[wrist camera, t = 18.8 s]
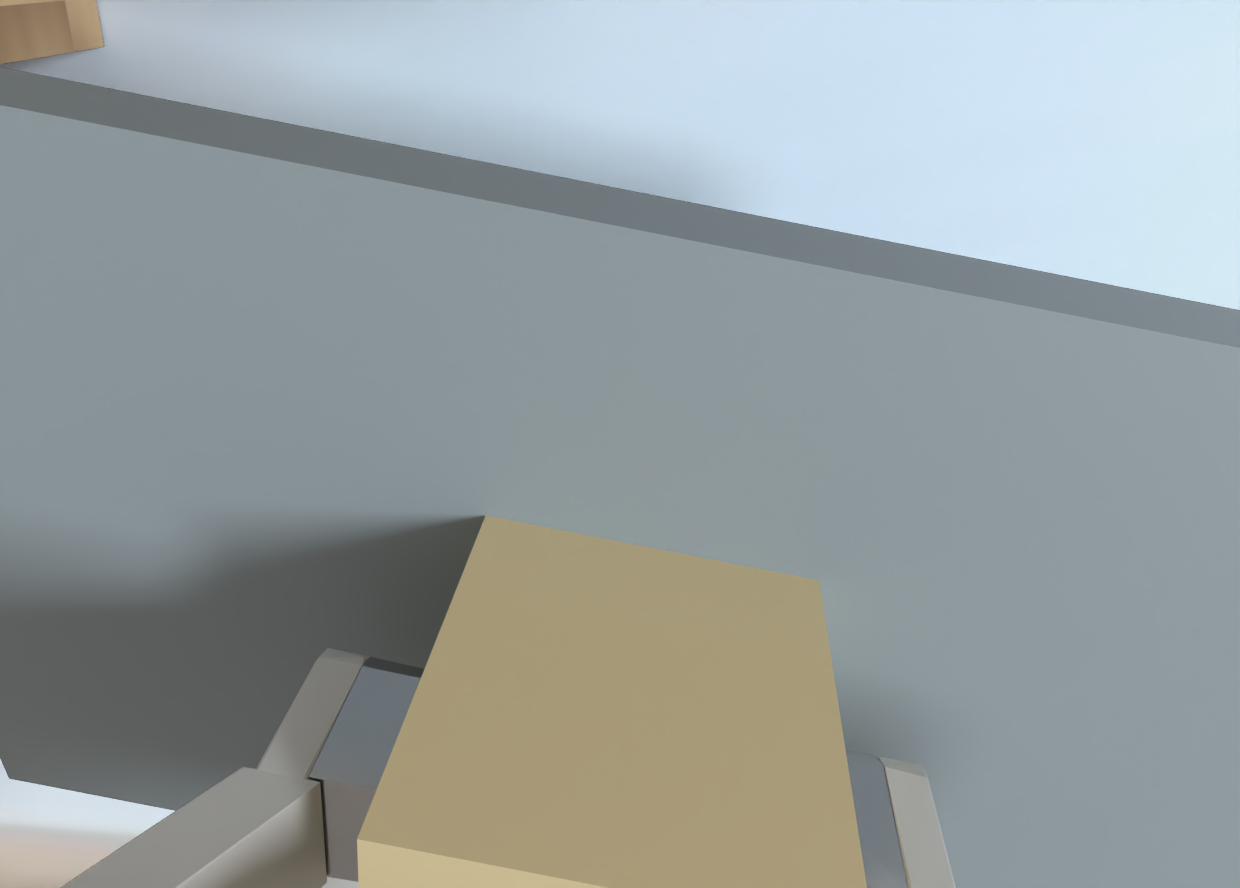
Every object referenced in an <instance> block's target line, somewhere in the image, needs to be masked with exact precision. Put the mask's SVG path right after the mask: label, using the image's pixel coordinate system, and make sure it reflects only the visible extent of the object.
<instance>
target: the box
mask: <svg viewBox="0 0 1240 888" xmlns="http://www.w3.org/2000/svg"><path fill="white" fill-rule="evenodd" d="M99 47H104V41H103V36H102V30H101V24H100V19H99V13H98V7H97V1H96V0H0V64H4V63H10V62H16V61H22V60H28V59H34V58H40V57H46V56H52V55H58V54H64V53H70V52H75V51H81V50H87V49H93V48H99Z"/></svg>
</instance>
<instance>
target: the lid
mask: <svg viewBox="0 0 1240 888" xmlns="http://www.w3.org/2000/svg"><path fill="white" fill-rule="evenodd" d="M327 648H331V649H336V650H341V651H345V652H350V653H355V654H360V655H365V656H370V657H374V658H379V659H383V660H388V661H392V662H397V663H401V664H405V665H410V666H414V667H419V668H423V669H424V672H423V674H422V677H421V679H420V682H419V684H418V687H417V689H416V692H415V694H414V697H413V699H412V702H411V704H410V707H409V709H408V712H407V714H406V717H405V719H404V722H403V725H402V727H401V730H400V732H399V735H398V737H397V740H396V742H395V745H394V747H393V750H392V752H391V755H390V757H389V760H388V762H387V765H386V767H385V770H384V772H383V775H382V777H381V780H380V782H379V785H378V787H377V790H376V793H375V795H374V798H373V800H372V803H371V805H370V808H369V810H368V813H367V815H366V818H365V820H364V823H363V825H362V828H361V830H360V833H359V835H358V838H357V854H358V885H359V888H867V884H866V878H865V872H864V865H863V859H862V852H861V846H860V839H859V833H858V827H857V820H856V814H855V807H854V801H853V794H852V788H851V781H850V775H849V769H848V762H847V756H846V750H851V751H857V752H862V753H868V754H873V755H874V756H876V757H883V758H889V759H894V760H899V761H904V762H910V763H915V764H919V765H921V766H922V768H923V769H924V771H925V772H926V774H927V777H928V780H929V784H930V788H931V792H932V796H933V800H934V804H935V808H936V812H937V816H938V820H939V824H940V828H941V832H942V836H943V840H944V844H945V848H946V851H947V855H948V859H949V863H950V867H951V871H952V875H953V879H954V883H955V887H956V888H1240V310H1236V309H1230V308H1225V307H1220V306H1215V305H1210V304H1205V303H1200V302H1195V301H1190V300H1185V299H1180V298H1174V297H1169V296H1164V295H1159V294H1154V293H1149V292H1144V291H1139V290H1134V289H1129V288H1123V287H1118V286H1113V285H1108V284H1103V283H1098V282H1093V281H1088V280H1083V279H1078V278H1073V277H1067V276H1062V275H1057V274H1052V273H1047V272H1042V271H1037V270H1032V269H1027V268H1022V267H1016V266H1011V265H1006V264H1001V263H996V262H991V261H986V260H981V259H976V258H971V257H966V256H960V255H955V254H950V253H945V252H940V251H935V250H930V249H925V248H920V247H915V246H909V245H904V244H899V243H894V242H889V241H884V240H879V239H874V238H869V237H864V236H859V235H853V234H848V233H843V232H838V231H833V230H828V229H823V228H818V227H813V226H808V225H802V224H797V223H792V222H787V221H782V220H777V219H772V218H767V217H762V216H757V215H752V214H746V213H741V212H736V211H731V210H726V209H721V208H716V207H711V206H706V205H701V204H695V203H690V202H685V201H680V200H675V199H670V198H665V197H660V196H655V195H650V194H645V193H639V192H634V191H629V190H624V189H619V188H614V187H609V186H604V185H599V184H594V183H589V182H583V181H578V180H573V179H568V178H563V177H558V176H553V175H548V174H543V173H538V172H532V171H527V170H522V169H517V168H512V167H507V166H502V165H497V164H492V163H487V162H482V161H476V160H471V159H466V158H461V157H456V156H451V155H446V154H441V153H436V152H431V151H425V150H420V149H415V148H410V147H405V146H400V145H395V144H390V143H385V142H380V141H375V140H369V139H364V138H359V137H354V136H349V135H344V134H339V133H334V132H329V131H324V130H318V129H313V128H308V127H303V126H298V125H293V124H288V123H283V122H278V121H273V120H268V119H262V118H257V117H252V116H247V115H242V114H237V113H232V112H227V111H222V110H217V109H211V108H206V107H201V106H196V105H191V104H186V103H181V102H176V101H171V100H166V99H161V98H155V97H150V96H145V95H140V94H135V93H130V92H125V91H120V90H115V89H110V88H104V87H99V86H94V85H89V84H84V83H79V82H74V81H69V80H64V79H59V78H54V77H48V76H43V75H38V74H33V73H28V72H23V71H18V70H13V69H8V68H3V67H0V759H1V761H2V763H3V765H4V768H5V770H6V772H7V775H8V777H9V778H10V779H15V780H20V781H25V782H30V783H36V784H41V785H46V786H51V787H56V788H61V789H67V790H72V791H77V792H82V793H87V794H92V795H98V796H103V797H108V798H113V799H118V800H123V801H129V802H134V803H139V804H144V805H149V806H154V807H160V808H165V809H170V810H175V811H176V810H178V809H179V808H181V807H183V806H184V805H186V804H187V803H189V802H190V801H192V800H193V799H195V798H196V797H198V796H199V795H201V794H202V793H204V792H205V791H207V790H208V789H210V788H211V787H213V786H214V785H216V784H217V783H219V782H220V781H222V780H223V779H225V778H226V777H228V776H229V775H231V774H232V773H234V772H235V771H237V770H238V769H240V768H241V767H249V768H255V769H256V768H257V766H258V764H259V762H260V761H261V759H262V757H263V755H264V753H265V752H266V750H267V748H268V746H269V744H270V743H271V741H272V739H273V737H274V735H275V734H276V732H277V730H278V728H279V727H280V725H281V723H282V721H283V719H284V718H285V716H286V714H287V712H288V710H289V709H290V707H291V705H292V703H293V701H294V700H295V698H296V696H297V694H298V692H299V691H300V689H301V687H302V685H303V683H304V682H305V680H306V678H307V676H308V674H309V673H310V671H311V669H312V667H313V665H314V664H315V662H316V660H317V659H318V658H319V657H320V656H321V655H322V654H323V652H324V651H325V650H326V649H327Z"/></svg>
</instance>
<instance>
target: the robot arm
mask: <svg viewBox="0 0 1240 888" xmlns="http://www.w3.org/2000/svg"><path fill="white" fill-rule="evenodd" d="M423 672H424V669H423V668H419V667H414V666H410V665H405V664H401V663H397V662H392V661H388V660H383V659H379V658H374V657H370V656H365V655H360V654H355V653H350V652H345V651H341V650H336V649H331V648H327V649H326V650H325V651H324V652H323V654H322V655H321V656H320V657H319V658H318V659H317V660H316V662H315V664H314V665H313V667H312V669H311V671H310V673H309V674H308V676H307V678H306V680H305V682H304V683H303V685H302V687H301V689H300V691H299V692H298V694H297V696H296V698H295V700H294V701H293V703H292V705H291V707H290V709H289V710H288V712H287V714H286V716H285V718H284V719H283V721H282V723H281V725H280V727H279V728H278V730H277V732H276V734H275V735H274V737H273V739H272V741H271V743H270V744H269V746H268V748H267V750H266V752H265V753H264V755H263V757H262V759H261V761H260V762H259V764H258V766H257V768H256V769H255V768H249V767H241V768H240V769H238V770H237V771H235V772H234V773H232V774H231V775H229V776H228V777H226V778H225V779H223V780H222V781H220V782H219V783H217V784H216V785H214V786H213V787H211V788H210V789H208V790H207V791H205V792H204V793H202V794H201V795H199V796H198V797H196V798H195V799H193V800H192V801H190V802H189V803H187V804H186V805H184V806H183V807H181V808H179V809H178V810H176V811H175V812H173V813H172V814H170V815H169V816H167V817H166V818H164V819H163V820H161V821H160V822H158V823H157V824H155V825H154V826H152V827H151V828H149V829H148V830H146V831H145V832H143V833H142V834H140V835H139V836H137V837H136V838H134V839H133V840H131V841H130V842H128V843H127V844H125V845H124V846H122V847H121V848H119V849H118V850H116V851H115V852H113V853H112V854H110V855H109V856H107V857H105V858H104V859H102V860H101V861H99V862H98V863H96V864H95V865H93V866H92V867H90V868H89V869H87V870H86V871H84V872H83V873H81V874H80V875H78V876H77V877H75V878H74V879H72V880H71V881H69V882H68V883H66V884H65V885H63V886H62V887H60V888H359V885H358V854H357V838H358V835H359V833H360V830H361V828H362V825H363V823H364V820H365V818H366V815H367V813H368V810H369V808H370V805H371V803H372V800H373V798H374V795H375V793H376V790H377V787H378V785H379V782H380V780H381V777H382V775H383V772H384V770H385V767H386V765H387V762H388V760H389V757H390V755H391V752H392V750H393V747H394V745H395V742H396V740H397V737H398V735H399V732H400V730H401V727H402V725H403V722H404V719H405V717H406V714H407V712H408V709H409V707H410V704H411V702H412V699H413V697H414V694H415V692H416V689H417V687H418V684H419V682H420V679H421V677H422V674H423ZM846 756H847V762H848V769H849V775H850V781H851V788H852V794H853V801H854V807H855V814H856V820H857V827H858V833H859V839H860V846H861V852H862V859H863V865H864V872H865V878H866V884H867V888H956V887H955V883H954V879H953V875H952V871H951V867H950V863H949V859H948V855H947V851H946V848H945V844H944V840H943V836H942V832H941V828H940V824H939V820H938V816H937V812H936V808H935V804H934V800H933V796H932V792H931V788H930V784H929V780H928V777H927V774H926V772H925V771H924V769H923V768H922V766H921V765H919V764H915V763H910V762H904V761H899V760H894V759H889V758H883V757H876V756H874V755H873V754H868V753H862V752H857V751H851V750H846Z"/></svg>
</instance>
